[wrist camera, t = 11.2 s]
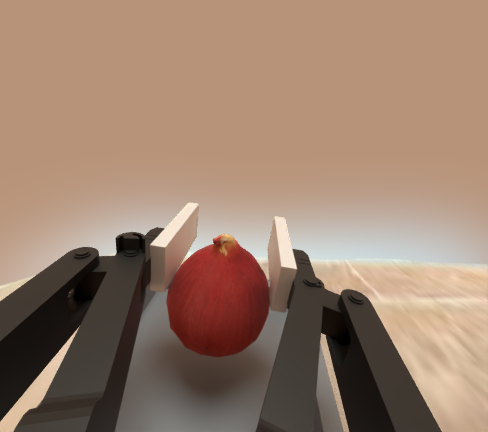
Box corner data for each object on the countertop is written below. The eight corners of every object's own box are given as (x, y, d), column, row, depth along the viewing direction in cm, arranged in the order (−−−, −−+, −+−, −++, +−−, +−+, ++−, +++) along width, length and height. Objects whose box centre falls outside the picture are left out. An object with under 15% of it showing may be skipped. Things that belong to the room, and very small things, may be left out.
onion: (199, 299, 19) (208, 204, 16) (268, 330, 17) (294, 229, 14) (144, 362, 13) (143, 237, 10) (235, 414, 12) (265, 284, 9)
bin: (152, 287, 23) (152, 260, 22) (297, 311, 22) (304, 285, 21) (5, 508, 10) (-14, 471, 9) (345, 568, 10) (371, 538, 8)
